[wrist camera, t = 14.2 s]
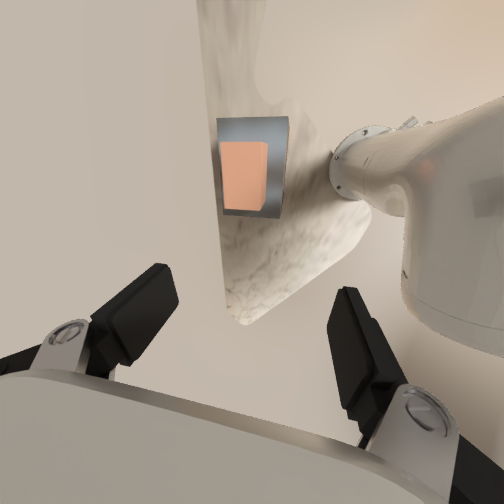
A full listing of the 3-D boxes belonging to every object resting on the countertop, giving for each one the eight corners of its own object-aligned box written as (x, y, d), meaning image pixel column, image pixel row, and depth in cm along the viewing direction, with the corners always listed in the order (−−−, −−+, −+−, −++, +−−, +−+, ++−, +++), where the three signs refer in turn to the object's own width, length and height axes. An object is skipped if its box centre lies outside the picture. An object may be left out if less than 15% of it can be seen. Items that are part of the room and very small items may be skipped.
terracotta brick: (234, 143, 26) (220, 141, 21) (267, 143, 25) (261, 141, 20) (236, 199, 30) (224, 208, 25) (265, 200, 29) (259, 210, 24)
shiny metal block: (238, 128, 35) (216, 118, 25) (289, 127, 34) (288, 116, 24) (240, 199, 42) (223, 214, 32) (282, 201, 41) (279, 218, 30)
